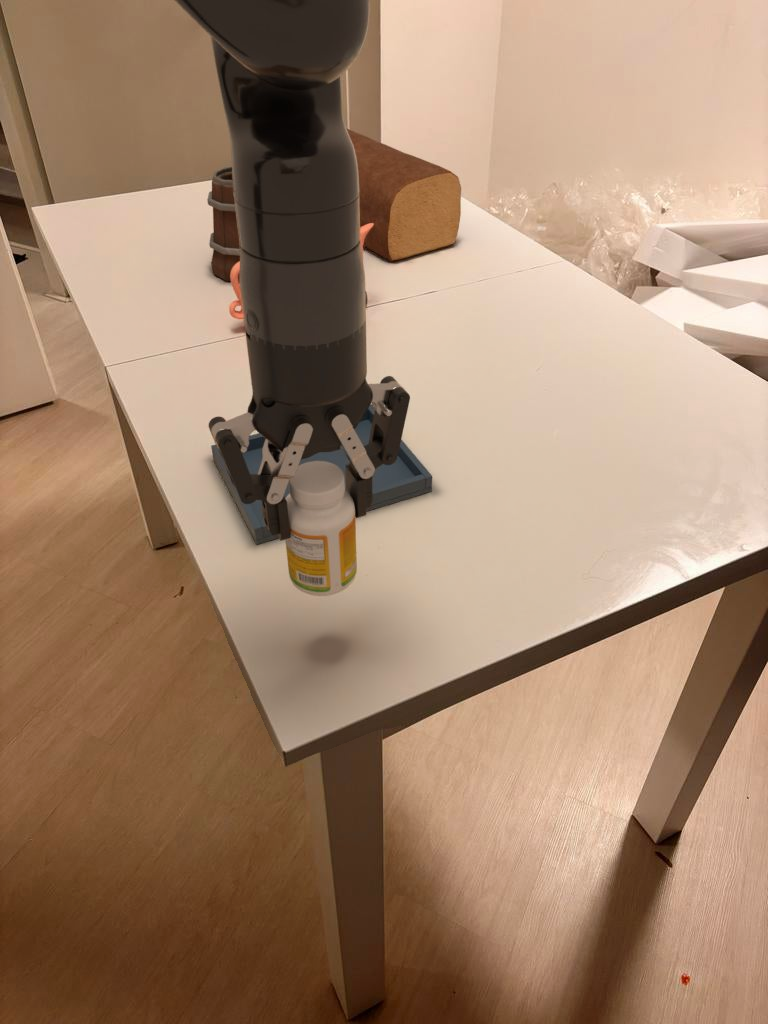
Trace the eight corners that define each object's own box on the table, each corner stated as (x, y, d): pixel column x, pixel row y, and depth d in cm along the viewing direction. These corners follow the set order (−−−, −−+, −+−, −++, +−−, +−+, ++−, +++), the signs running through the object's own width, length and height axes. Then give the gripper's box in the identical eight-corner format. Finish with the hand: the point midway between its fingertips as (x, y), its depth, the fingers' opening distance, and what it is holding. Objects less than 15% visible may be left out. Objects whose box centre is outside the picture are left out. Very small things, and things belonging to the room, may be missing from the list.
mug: (295, 274, 129) (287, 178, 119) (222, 288, 125) (207, 190, 115) (266, 241, 140) (256, 150, 130) (198, 252, 136) (182, 160, 126)
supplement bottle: (341, 543, 66) (336, 447, 60) (368, 585, 63) (366, 487, 56) (279, 563, 65) (268, 465, 58) (303, 607, 61) (294, 508, 55)
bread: (341, 184, 162) (338, 112, 154) (462, 244, 137) (466, 162, 129) (274, 200, 156) (267, 125, 147) (388, 266, 131) (387, 181, 122)
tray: (256, 544, 80) (254, 529, 78) (213, 460, 90) (210, 445, 89) (432, 491, 86) (432, 475, 84) (372, 418, 97) (371, 403, 95)
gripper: (385, 270, 54) (385, 470, 65) (174, 309, 50) (212, 518, 60) (436, 315, 49) (427, 525, 60) (206, 364, 44) (241, 582, 55)
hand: (319, 521), depth 60 cm, fingers closed on supplement bottle, 5 cm apart
